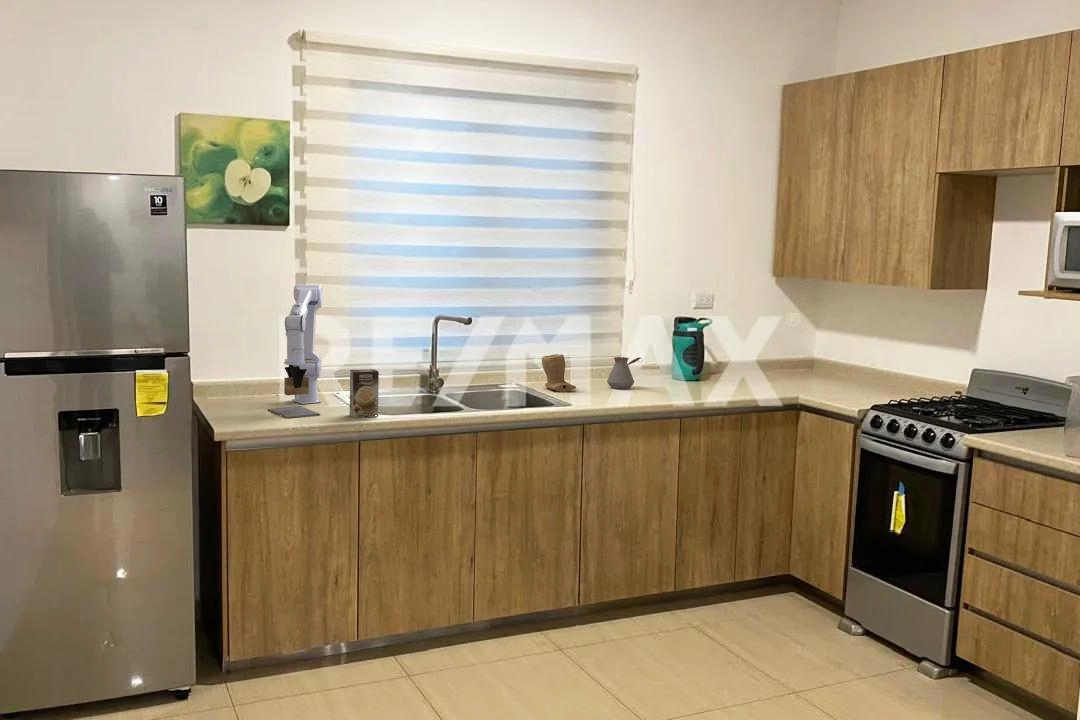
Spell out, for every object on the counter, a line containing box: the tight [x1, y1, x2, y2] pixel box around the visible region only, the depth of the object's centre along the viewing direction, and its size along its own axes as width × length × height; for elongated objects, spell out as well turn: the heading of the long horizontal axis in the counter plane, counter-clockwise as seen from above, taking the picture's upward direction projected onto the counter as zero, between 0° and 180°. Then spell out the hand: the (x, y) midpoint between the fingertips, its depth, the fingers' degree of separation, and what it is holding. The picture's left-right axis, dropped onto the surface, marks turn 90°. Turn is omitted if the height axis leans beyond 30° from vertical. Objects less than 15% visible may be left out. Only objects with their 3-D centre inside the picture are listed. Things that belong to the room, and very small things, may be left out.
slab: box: [283, 376, 309, 396], centre depth 355 cm, size 3×8×6 cm, turn 127°
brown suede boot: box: [541, 353, 577, 393], centre depth 416 cm, size 15×12×15 cm
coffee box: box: [349, 368, 380, 418], centre depth 351 cm, size 9×6×16 cm
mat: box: [267, 405, 321, 419], centre depth 354 cm, size 18×12×1 cm, turn 36°
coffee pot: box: [606, 356, 643, 390], centre depth 420 cm, size 21×12×15 cm, turn 25°
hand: (295, 387), depth 355 cm, fingers closed on slab, 3 cm apart
